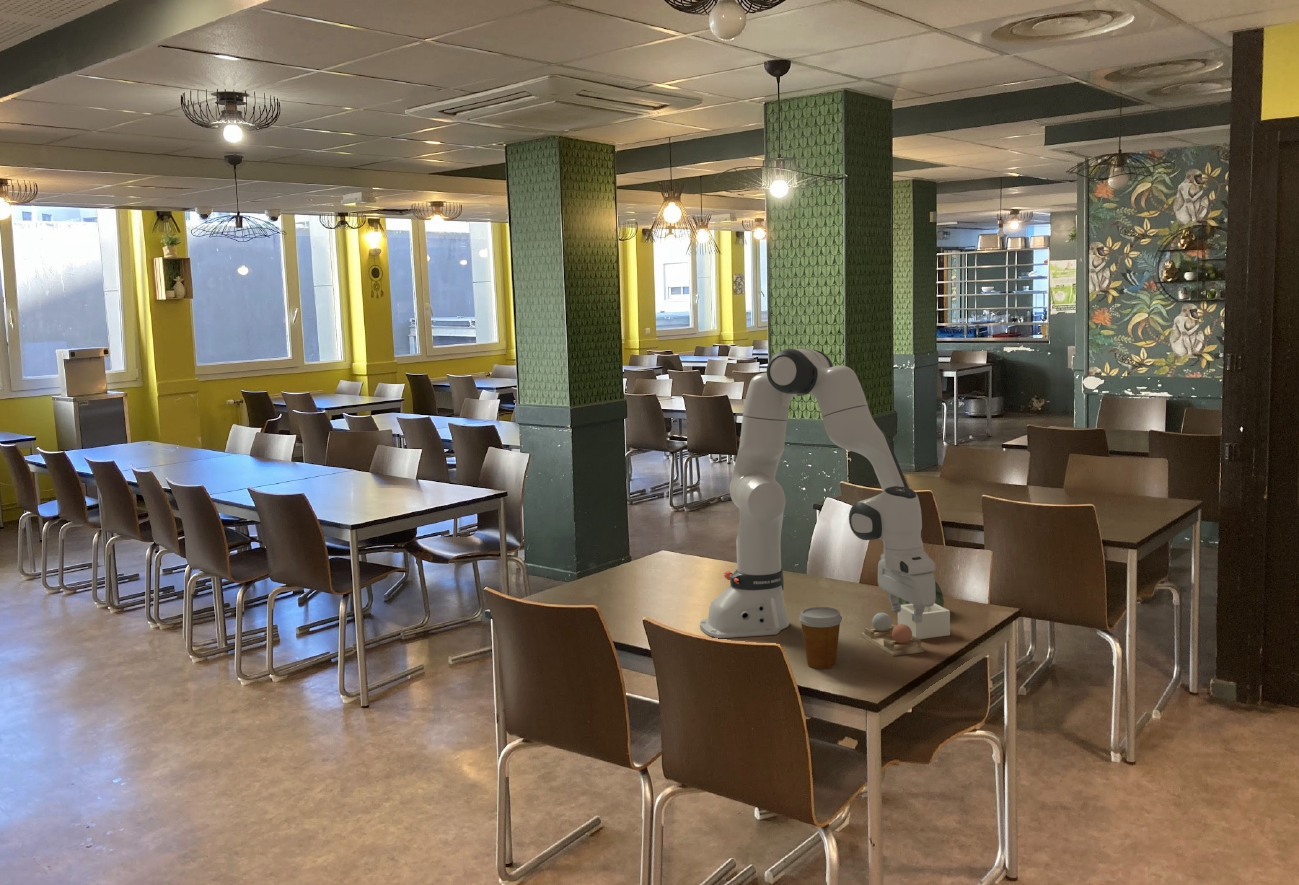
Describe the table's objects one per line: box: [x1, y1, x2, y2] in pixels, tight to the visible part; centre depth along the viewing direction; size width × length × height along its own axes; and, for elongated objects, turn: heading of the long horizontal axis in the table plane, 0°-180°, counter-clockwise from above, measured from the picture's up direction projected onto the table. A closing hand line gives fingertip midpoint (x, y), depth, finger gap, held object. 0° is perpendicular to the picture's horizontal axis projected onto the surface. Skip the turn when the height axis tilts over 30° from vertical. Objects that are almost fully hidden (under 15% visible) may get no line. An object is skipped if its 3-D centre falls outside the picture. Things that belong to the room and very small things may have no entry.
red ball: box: [892, 624, 912, 644], centre depth 244 cm, size 4×4×4 cm
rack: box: [860, 623, 926, 657], centre depth 249 cm, size 8×16×2 cm, turn 15°
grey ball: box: [871, 612, 893, 632], centre depth 254 cm, size 4×4×4 cm
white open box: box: [897, 603, 951, 640], centre depth 257 cm, size 9×9×6 cm
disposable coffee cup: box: [798, 606, 843, 670], centre depth 237 cm, size 10×10×12 cm
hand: (906, 616), depth 244 cm, fingers open, 8 cm apart
